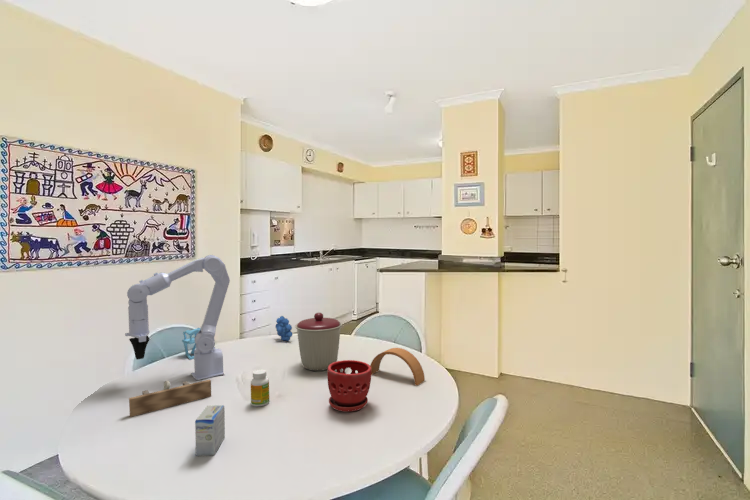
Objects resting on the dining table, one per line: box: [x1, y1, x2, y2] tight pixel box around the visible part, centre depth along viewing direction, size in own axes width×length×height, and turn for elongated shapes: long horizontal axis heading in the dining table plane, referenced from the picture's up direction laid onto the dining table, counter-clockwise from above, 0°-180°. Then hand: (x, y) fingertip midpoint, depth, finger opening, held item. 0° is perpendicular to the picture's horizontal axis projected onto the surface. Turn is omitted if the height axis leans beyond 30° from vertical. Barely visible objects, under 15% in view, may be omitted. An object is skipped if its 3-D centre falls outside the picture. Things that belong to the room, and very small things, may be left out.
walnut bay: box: [128, 378, 212, 418], centre depth 121 cm, size 22×10×5 cm, turn 129°
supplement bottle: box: [250, 369, 270, 407], centre depth 118 cm, size 5×5×10 cm
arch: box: [369, 347, 426, 386], centre depth 139 cm, size 6×20×10 cm, turn 55°
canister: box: [294, 312, 343, 371], centre depth 151 cm, size 18×18×21 cm
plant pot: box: [326, 359, 372, 413], centre depth 116 cm, size 13×13×12 cm
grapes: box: [275, 315, 293, 342], centre depth 187 cm, size 12×7×12 cm, turn 51°
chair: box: [181, 327, 201, 360], centre depth 166 cm, size 8×8×12 cm
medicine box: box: [194, 404, 226, 457], centre depth 94 cm, size 8×4×9 cm, turn 5°
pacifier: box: [162, 380, 171, 390], centre depth 120 cm, size 7×6×6 cm
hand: (139, 358), depth 133 cm, fingers closed
